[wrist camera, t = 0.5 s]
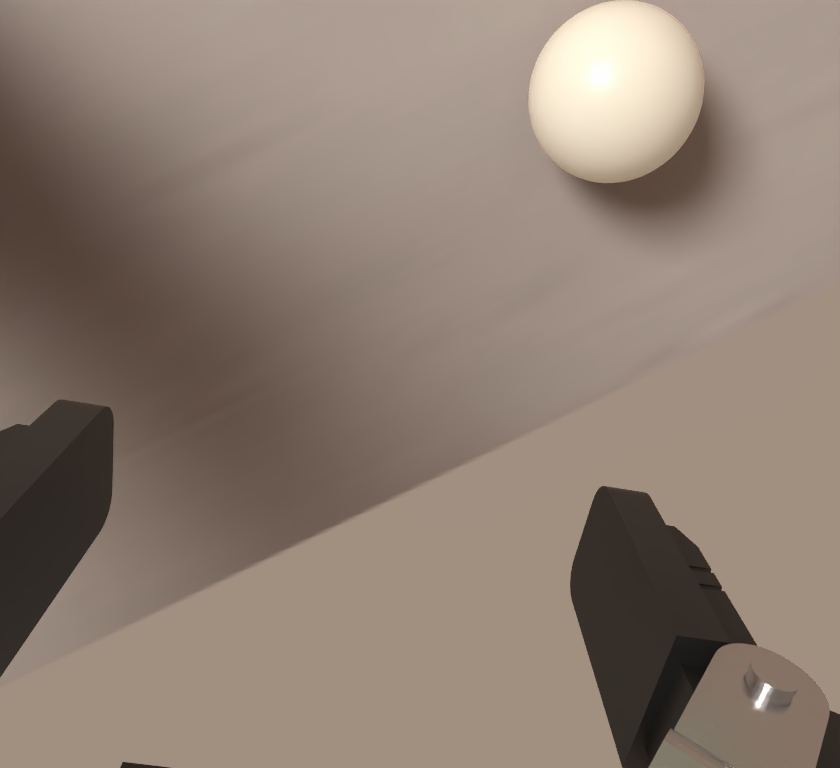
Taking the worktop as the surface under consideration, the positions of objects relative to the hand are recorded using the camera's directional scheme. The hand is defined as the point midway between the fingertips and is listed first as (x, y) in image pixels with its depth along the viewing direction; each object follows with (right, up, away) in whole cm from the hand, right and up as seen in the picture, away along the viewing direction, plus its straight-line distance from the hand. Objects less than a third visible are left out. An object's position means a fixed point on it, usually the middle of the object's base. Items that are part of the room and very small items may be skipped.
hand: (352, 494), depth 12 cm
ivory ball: (+7, +11, +12) cm, 18 cm away
